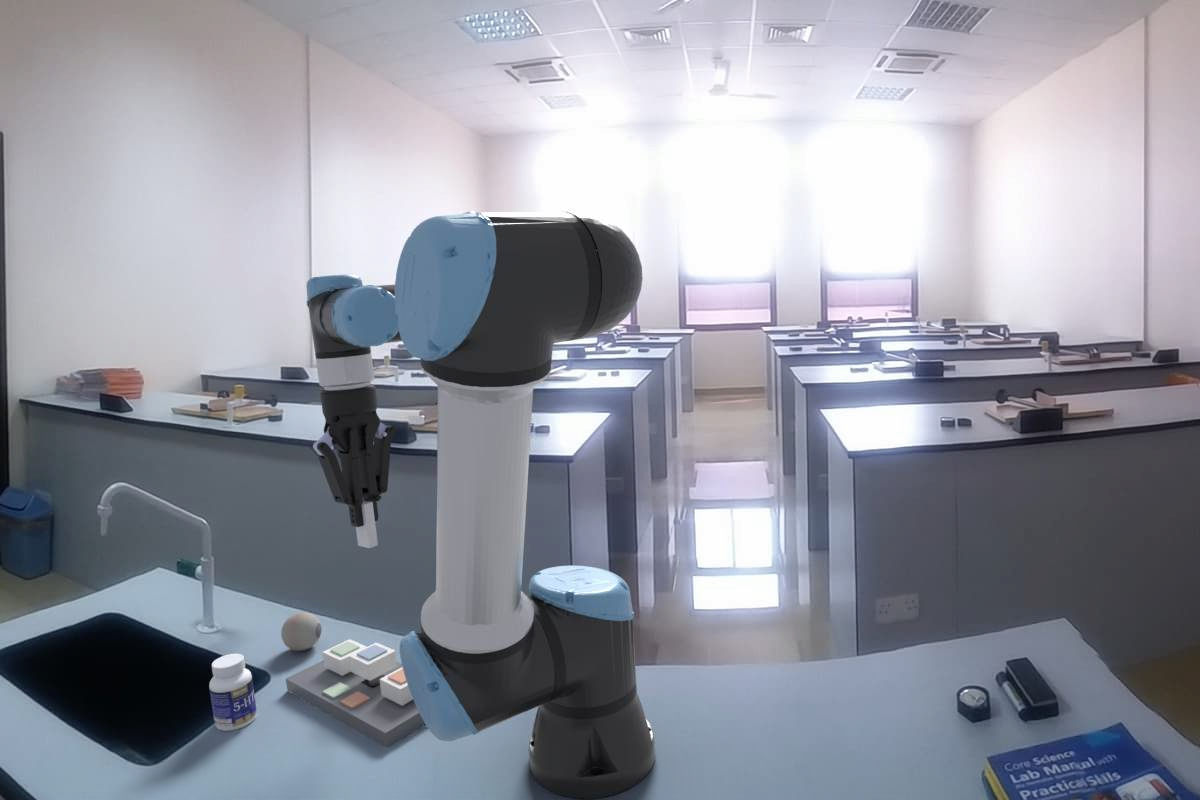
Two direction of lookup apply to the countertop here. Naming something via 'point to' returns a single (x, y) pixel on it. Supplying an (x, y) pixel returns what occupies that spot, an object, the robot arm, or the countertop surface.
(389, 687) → the key terracotta
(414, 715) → the keypad board
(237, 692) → the pill bottle
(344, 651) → the key sage
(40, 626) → the countertop surface
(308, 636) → the eyeball
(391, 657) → the white boxy piece
